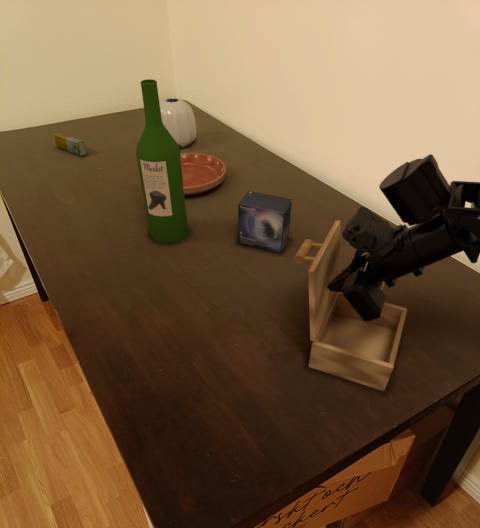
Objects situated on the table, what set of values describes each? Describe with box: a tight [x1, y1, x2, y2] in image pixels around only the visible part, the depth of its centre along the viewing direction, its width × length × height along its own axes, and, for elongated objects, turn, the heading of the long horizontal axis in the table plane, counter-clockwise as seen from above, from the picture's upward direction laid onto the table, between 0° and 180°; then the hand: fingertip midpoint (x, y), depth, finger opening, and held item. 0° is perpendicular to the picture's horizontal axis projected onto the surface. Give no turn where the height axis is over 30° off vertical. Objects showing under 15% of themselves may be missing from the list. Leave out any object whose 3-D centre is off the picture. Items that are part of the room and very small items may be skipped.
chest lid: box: [293, 219, 341, 343], centre depth 69 cm, size 13×15×5 cm
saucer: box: [180, 152, 227, 196], centre depth 120 cm, size 23×23×4 cm
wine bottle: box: [135, 78, 189, 244], centre depth 90 cm, size 9×9×32 cm
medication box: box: [53, 132, 87, 157], centre depth 135 cm, size 12×3×4 cm, turn 54°
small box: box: [237, 190, 293, 254], centre depth 95 cm, size 11×6×10 cm, turn 68°
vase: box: [159, 96, 197, 149], centre depth 136 cm, size 14×14×13 cm
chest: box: [307, 292, 408, 392], centre depth 73 cm, size 13×15×6 cm
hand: (329, 287), depth 68 cm, fingers closed, pressing on chest lid
